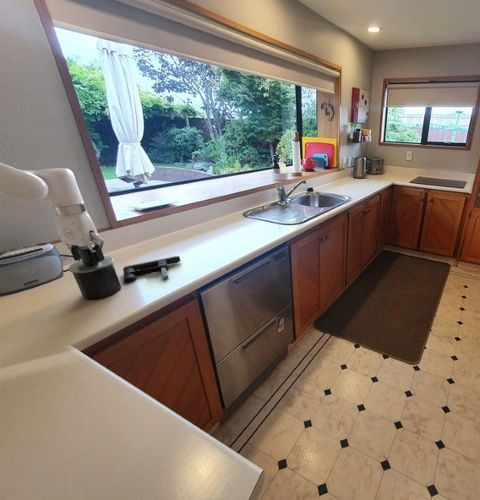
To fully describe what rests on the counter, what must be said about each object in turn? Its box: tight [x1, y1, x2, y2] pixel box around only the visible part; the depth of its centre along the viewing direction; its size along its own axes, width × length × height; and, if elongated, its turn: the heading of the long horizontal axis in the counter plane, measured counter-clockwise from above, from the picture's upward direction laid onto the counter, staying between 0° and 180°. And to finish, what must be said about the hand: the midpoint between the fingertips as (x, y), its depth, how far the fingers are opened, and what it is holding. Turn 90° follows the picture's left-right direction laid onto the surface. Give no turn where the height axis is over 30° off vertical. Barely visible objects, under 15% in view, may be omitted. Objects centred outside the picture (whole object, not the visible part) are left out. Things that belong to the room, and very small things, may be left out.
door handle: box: [122, 255, 181, 284], centre depth 114 cm, size 3×20×16 cm
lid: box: [68, 244, 115, 274], centre depth 94 cm, size 12×12×7 cm
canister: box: [71, 262, 122, 301], centre depth 98 cm, size 10×10×12 cm
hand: (89, 259), depth 95 cm, fingers open, 7 cm apart
